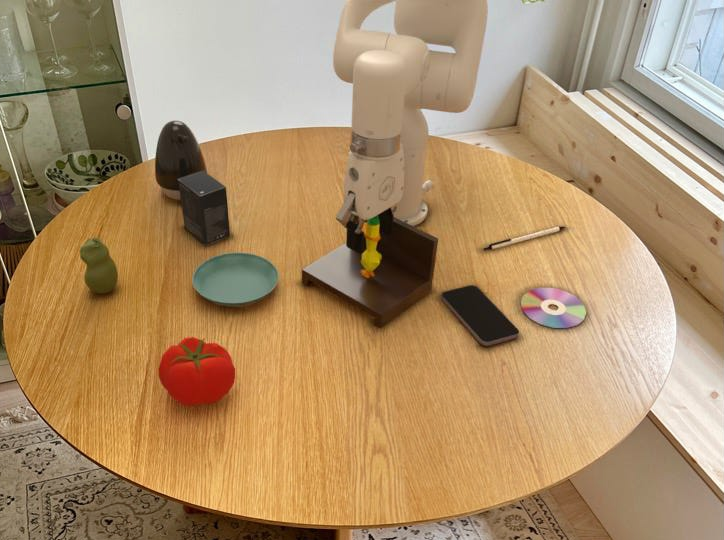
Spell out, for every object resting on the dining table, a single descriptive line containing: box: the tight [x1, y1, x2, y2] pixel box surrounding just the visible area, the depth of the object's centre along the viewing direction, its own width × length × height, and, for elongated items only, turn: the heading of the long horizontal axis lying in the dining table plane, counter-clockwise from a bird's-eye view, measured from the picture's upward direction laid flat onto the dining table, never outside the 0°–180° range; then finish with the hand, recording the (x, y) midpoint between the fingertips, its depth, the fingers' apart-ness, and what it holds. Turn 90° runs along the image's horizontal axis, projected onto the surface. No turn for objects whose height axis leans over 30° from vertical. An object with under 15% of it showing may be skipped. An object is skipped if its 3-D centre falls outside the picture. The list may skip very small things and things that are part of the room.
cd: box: [520, 287, 587, 329], centre depth 129 cm, size 11×11×1 cm
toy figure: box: [356, 215, 382, 278], centre depth 126 cm, size 7×4×12 cm, turn 33°
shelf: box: [301, 216, 439, 330], centre depth 128 cm, size 14×18×11 cm
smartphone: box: [440, 284, 520, 347], centre depth 127 cm, size 7×1×15 cm
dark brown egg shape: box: [154, 120, 208, 201], centre depth 147 cm, size 10×10×15 cm
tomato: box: [158, 336, 236, 408], centre depth 109 cm, size 11×11×9 cm
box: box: [178, 171, 231, 246], centre depth 139 cm, size 8×6×11 cm
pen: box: [483, 226, 566, 251], centre depth 144 cm, size 1×19×1 cm, turn 117°
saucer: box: [191, 252, 280, 308], centre depth 130 cm, size 15×15×3 cm
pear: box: [79, 237, 119, 295], centre depth 125 cm, size 6×5×10 cm
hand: (369, 239), depth 125 cm, fingers open, 6 cm apart
